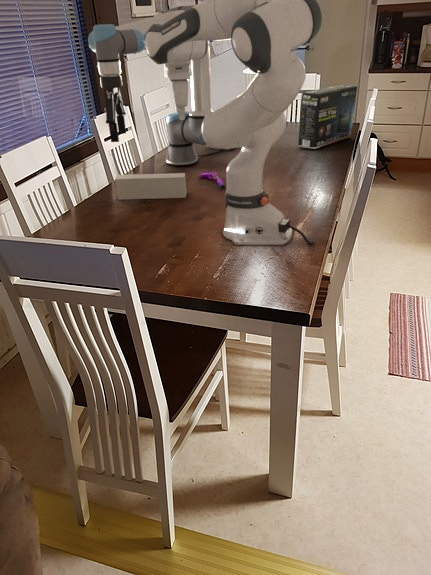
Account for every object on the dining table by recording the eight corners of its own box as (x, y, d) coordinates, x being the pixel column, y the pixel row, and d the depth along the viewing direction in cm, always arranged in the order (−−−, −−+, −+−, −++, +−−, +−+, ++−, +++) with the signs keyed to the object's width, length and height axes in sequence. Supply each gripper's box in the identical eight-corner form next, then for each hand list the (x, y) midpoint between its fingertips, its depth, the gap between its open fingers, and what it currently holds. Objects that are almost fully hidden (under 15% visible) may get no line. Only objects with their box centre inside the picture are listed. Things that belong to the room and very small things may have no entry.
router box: (314, 151, 231) (318, 94, 217) (296, 148, 237) (299, 92, 224) (352, 138, 251) (358, 85, 238) (335, 135, 258) (340, 83, 245)
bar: (186, 193, 185) (185, 172, 180) (185, 197, 180) (184, 177, 176) (120, 195, 186) (117, 174, 181) (117, 199, 181) (114, 179, 177)
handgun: (199, 176, 203) (199, 172, 202) (216, 174, 204) (216, 170, 203) (207, 191, 185) (207, 186, 184) (226, 189, 186) (225, 184, 185)
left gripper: (107, 71, 171) (115, 130, 182) (90, 79, 150) (101, 145, 161) (127, 71, 171) (134, 129, 182) (113, 79, 149) (122, 145, 160)
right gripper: (167, 67, 152) (170, 111, 159) (168, 74, 134) (172, 123, 142) (186, 66, 152) (188, 110, 159) (190, 73, 135) (193, 122, 142)
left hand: (118, 137), depth 171 cm, fingers open, 13 cm apart
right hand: (181, 116), depth 150 cm, fingers open, 8 cm apart
